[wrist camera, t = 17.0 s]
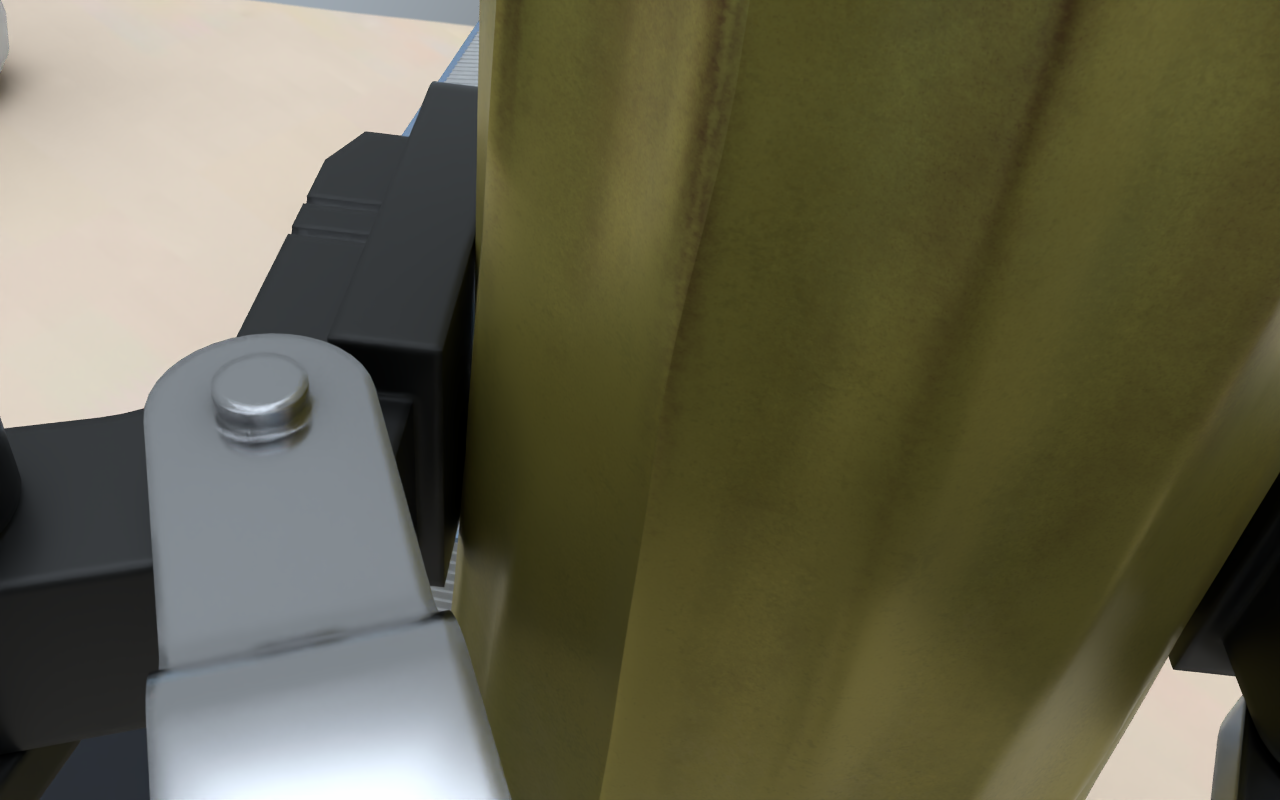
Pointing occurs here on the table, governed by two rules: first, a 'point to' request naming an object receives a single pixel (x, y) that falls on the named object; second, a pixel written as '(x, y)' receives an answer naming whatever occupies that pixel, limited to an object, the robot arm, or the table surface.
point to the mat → (105, 769)
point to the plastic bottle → (3, 36)
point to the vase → (858, 384)
